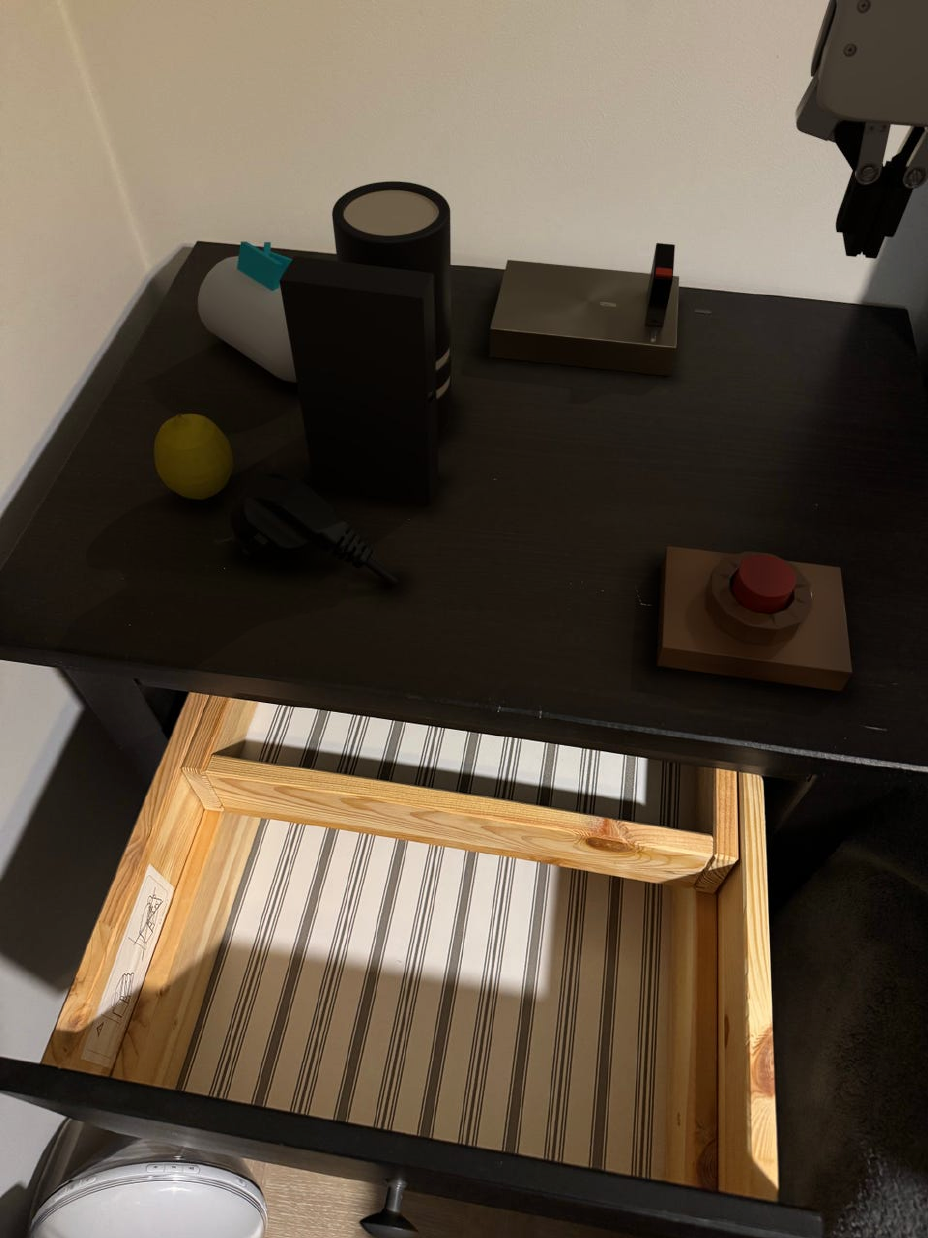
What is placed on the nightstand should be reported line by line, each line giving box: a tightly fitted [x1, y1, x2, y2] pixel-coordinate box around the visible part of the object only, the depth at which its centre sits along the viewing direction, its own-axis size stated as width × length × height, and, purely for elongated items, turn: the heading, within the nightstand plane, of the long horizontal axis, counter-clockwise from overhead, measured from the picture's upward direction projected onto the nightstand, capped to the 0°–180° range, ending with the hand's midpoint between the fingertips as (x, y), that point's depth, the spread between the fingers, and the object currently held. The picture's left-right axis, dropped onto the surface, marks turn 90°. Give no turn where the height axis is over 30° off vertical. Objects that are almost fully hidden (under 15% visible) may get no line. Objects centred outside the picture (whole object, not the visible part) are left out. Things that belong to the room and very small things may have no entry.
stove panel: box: [488, 259, 712, 377], centre depth 82 cm, size 19×11×3 cm, turn 80°
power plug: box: [230, 472, 399, 588], centre depth 65 cm, size 6×8×12 cm
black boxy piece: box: [645, 242, 676, 326], centre depth 78 cm, size 6×2×5 cm, turn 170°
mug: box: [197, 240, 297, 383], centre depth 79 cm, size 12×9×12 cm
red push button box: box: [656, 545, 853, 692], centre depth 61 cm, size 12×9×4 cm
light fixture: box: [279, 180, 453, 507], centre depth 67 cm, size 10×14×18 cm
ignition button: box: [733, 555, 796, 614], centre depth 59 cm, size 4×4×2 cm
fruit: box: [153, 413, 234, 501], centre depth 67 cm, size 6×6×8 cm
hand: (858, 243), depth 51 cm, fingers closed
